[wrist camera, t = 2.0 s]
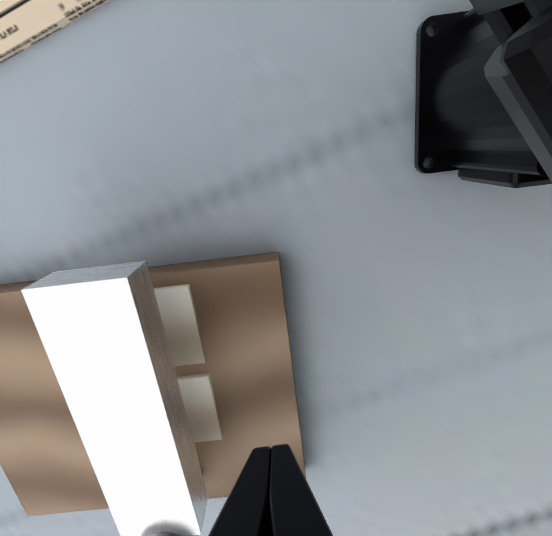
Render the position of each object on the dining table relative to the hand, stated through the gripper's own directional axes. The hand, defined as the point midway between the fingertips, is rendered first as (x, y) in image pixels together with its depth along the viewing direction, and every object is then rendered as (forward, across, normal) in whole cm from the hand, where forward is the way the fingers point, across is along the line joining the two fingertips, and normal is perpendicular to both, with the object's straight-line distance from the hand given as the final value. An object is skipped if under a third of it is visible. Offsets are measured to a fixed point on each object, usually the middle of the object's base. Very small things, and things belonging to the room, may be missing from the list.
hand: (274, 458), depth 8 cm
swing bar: (+8, +7, +5) cm, 12 cm away
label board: (+12, +9, +6) cm, 16 cm away
